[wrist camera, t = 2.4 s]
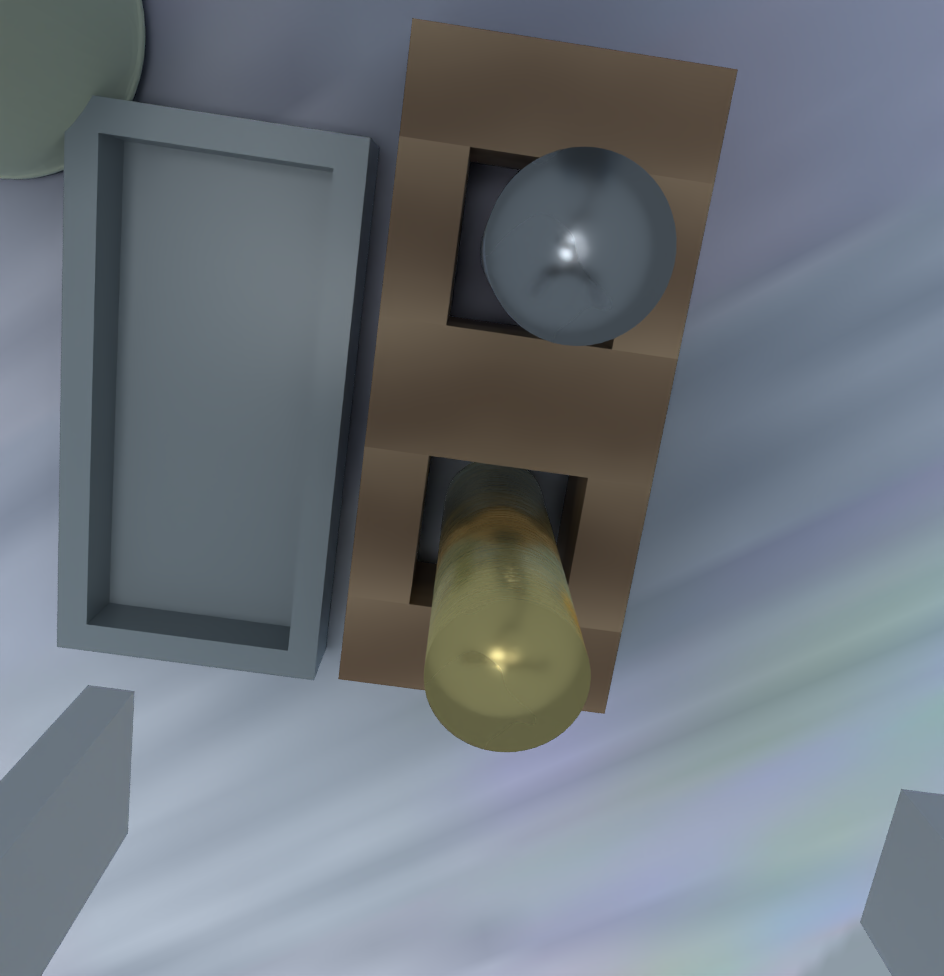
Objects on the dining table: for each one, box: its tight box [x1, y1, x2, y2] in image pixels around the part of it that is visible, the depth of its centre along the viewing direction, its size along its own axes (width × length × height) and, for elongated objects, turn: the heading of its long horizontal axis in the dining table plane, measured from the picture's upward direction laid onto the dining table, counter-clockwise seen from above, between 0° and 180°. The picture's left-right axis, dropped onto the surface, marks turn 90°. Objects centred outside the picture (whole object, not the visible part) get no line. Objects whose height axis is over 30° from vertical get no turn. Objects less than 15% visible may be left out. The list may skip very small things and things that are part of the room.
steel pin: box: [480, 147, 677, 346], centre depth 22 cm, size 4×4×13 cm
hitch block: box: [338, 18, 737, 714], centre depth 28 cm, size 20×9×4 cm, turn 172°
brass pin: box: [424, 462, 591, 752], centre depth 25 cm, size 4×4×13 cm
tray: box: [57, 95, 379, 680], centre depth 29 cm, size 18×9×2 cm, turn 172°
